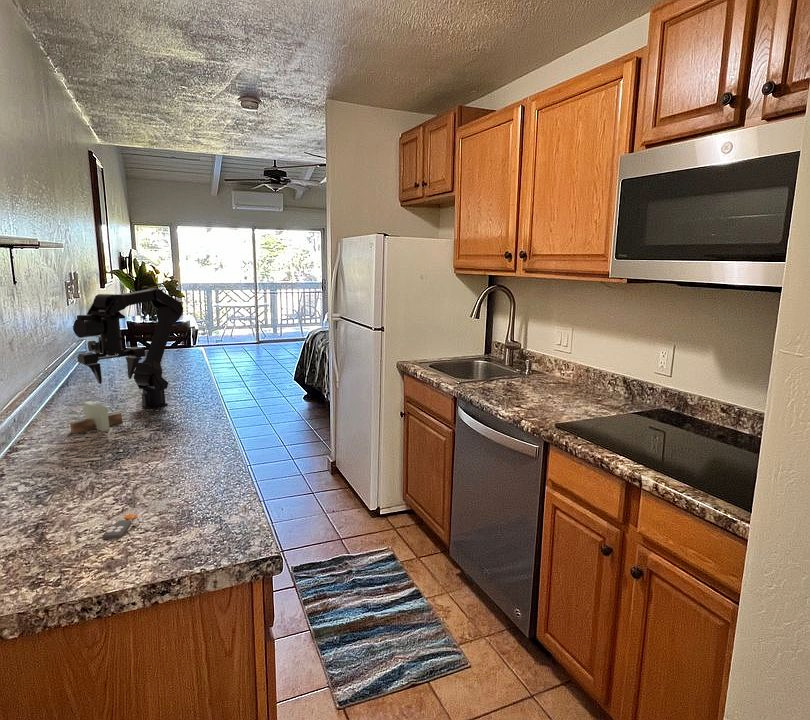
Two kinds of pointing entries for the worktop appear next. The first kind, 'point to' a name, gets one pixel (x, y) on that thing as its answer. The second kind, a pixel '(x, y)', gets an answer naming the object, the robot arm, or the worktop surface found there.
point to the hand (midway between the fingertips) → (115, 381)
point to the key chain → (119, 527)
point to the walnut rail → (88, 423)
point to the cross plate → (97, 415)
